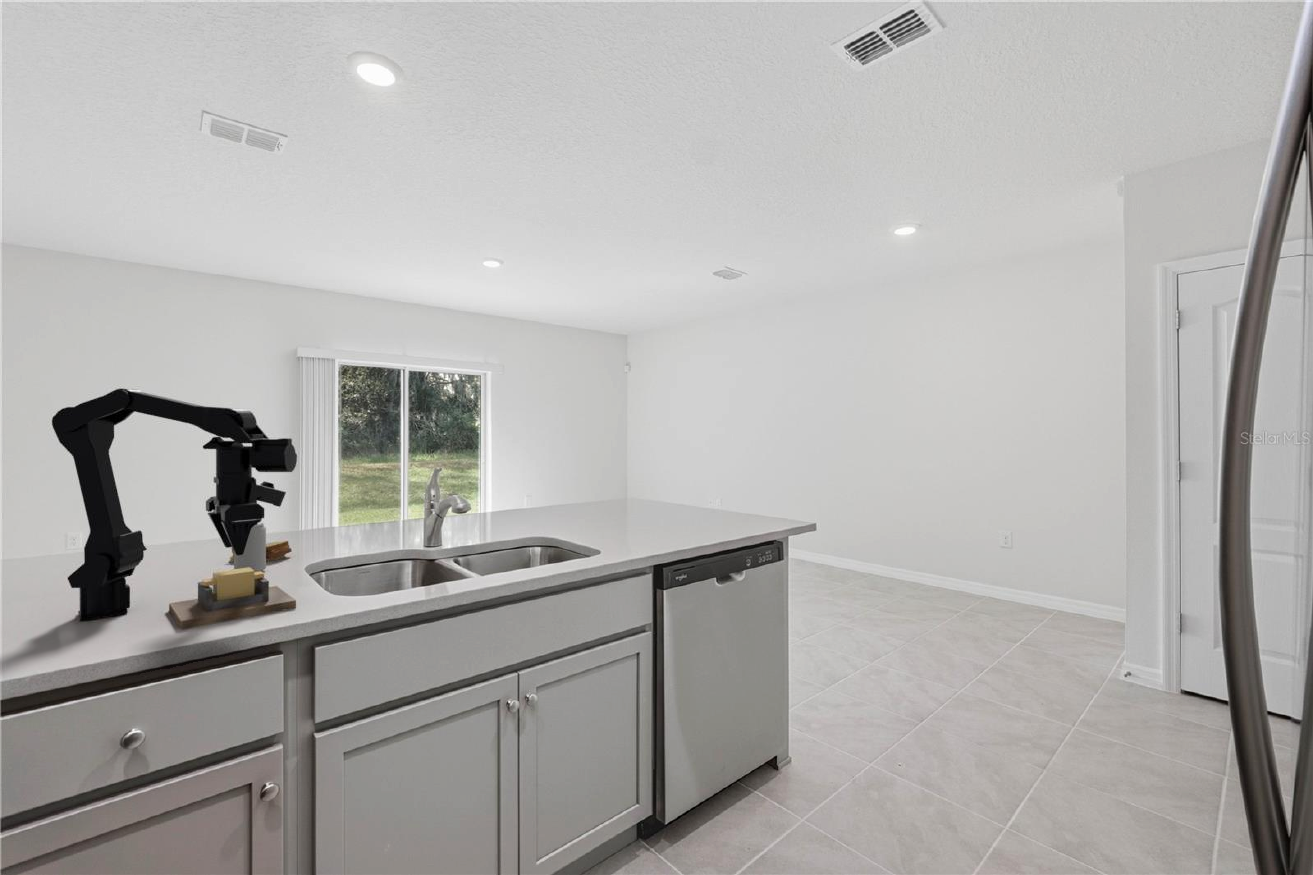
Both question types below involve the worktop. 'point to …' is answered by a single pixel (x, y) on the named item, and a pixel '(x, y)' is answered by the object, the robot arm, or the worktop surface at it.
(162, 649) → the worktop surface
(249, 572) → the block
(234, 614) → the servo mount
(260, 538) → the beverage can
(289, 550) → the toy sandwich meal
